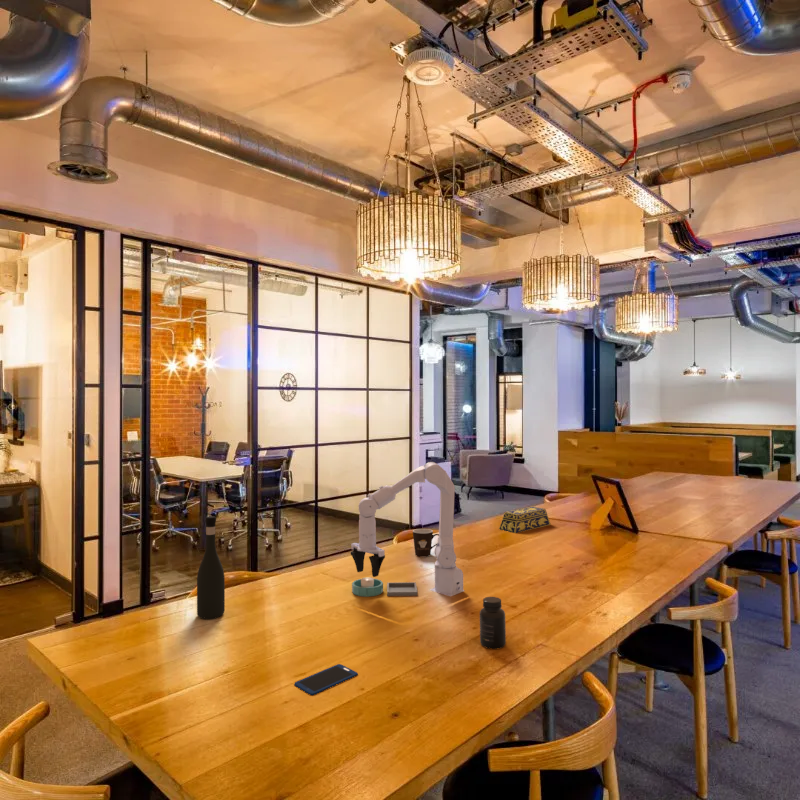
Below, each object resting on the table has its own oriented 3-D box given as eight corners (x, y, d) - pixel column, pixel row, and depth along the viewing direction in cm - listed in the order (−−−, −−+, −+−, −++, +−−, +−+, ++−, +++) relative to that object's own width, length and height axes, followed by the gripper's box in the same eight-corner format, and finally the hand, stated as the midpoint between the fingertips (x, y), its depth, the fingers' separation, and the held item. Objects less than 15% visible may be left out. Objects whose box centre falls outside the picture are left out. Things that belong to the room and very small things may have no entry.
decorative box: (551, 525, 300) (551, 508, 300) (515, 534, 280) (515, 515, 280) (534, 522, 308) (534, 505, 308) (498, 530, 288) (498, 512, 288)
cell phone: (359, 676, 136) (359, 673, 136) (311, 697, 127) (311, 694, 127) (339, 666, 142) (339, 663, 142) (292, 686, 132) (292, 683, 132)
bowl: (388, 592, 194) (388, 582, 194) (366, 600, 187) (366, 590, 187) (368, 586, 201) (368, 576, 201) (346, 593, 194) (346, 583, 194)
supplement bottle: (488, 636, 158) (488, 593, 158) (510, 643, 154) (510, 598, 154) (474, 644, 153) (474, 600, 153) (497, 652, 148) (497, 605, 148)
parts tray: (415, 587, 200) (415, 582, 200) (417, 597, 190) (417, 591, 190) (387, 587, 199) (387, 582, 199) (387, 597, 189) (387, 592, 189)
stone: (376, 591, 194) (376, 579, 194) (366, 594, 191) (366, 582, 191) (368, 588, 197) (368, 576, 197) (358, 591, 194) (358, 579, 194)
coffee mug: (409, 555, 240) (409, 531, 240) (418, 550, 248) (418, 527, 248) (434, 559, 235) (434, 534, 235) (442, 554, 243) (442, 530, 243)
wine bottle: (196, 612, 177) (196, 515, 177) (223, 609, 179) (223, 513, 179) (197, 621, 169) (197, 520, 169) (225, 618, 172) (225, 518, 172)
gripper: (344, 532, 196) (344, 572, 196) (373, 539, 186) (373, 581, 186) (359, 529, 201) (360, 567, 201) (388, 535, 191) (389, 576, 191)
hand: (367, 573), depth 194 cm, fingers open, 7 cm apart
